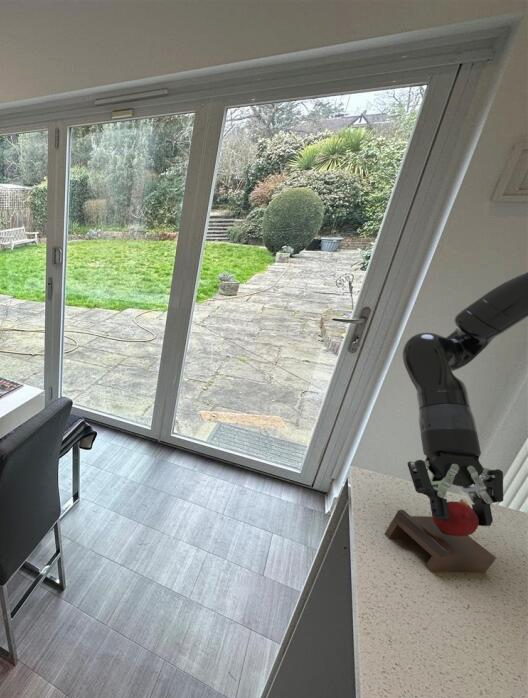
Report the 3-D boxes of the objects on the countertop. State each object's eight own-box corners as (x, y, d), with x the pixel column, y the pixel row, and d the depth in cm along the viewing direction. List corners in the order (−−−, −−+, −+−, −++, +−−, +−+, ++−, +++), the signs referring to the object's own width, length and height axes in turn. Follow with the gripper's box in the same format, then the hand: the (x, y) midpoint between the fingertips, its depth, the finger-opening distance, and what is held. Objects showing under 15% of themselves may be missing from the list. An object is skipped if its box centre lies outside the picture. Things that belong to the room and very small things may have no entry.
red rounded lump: (470, 536, 76) (493, 504, 72) (461, 550, 73) (485, 518, 69) (429, 517, 80) (449, 486, 77) (419, 530, 77) (440, 498, 74)
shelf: (432, 534, 84) (448, 510, 81) (482, 577, 75) (502, 551, 72) (384, 533, 84) (398, 509, 81) (427, 575, 75) (445, 550, 72)
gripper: (420, 422, 76) (434, 516, 71) (511, 432, 74) (532, 529, 69) (390, 430, 83) (401, 516, 78) (472, 440, 81) (489, 529, 76)
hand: (462, 522), depth 73 cm, fingers closed on red rounded lump, 5 cm apart
